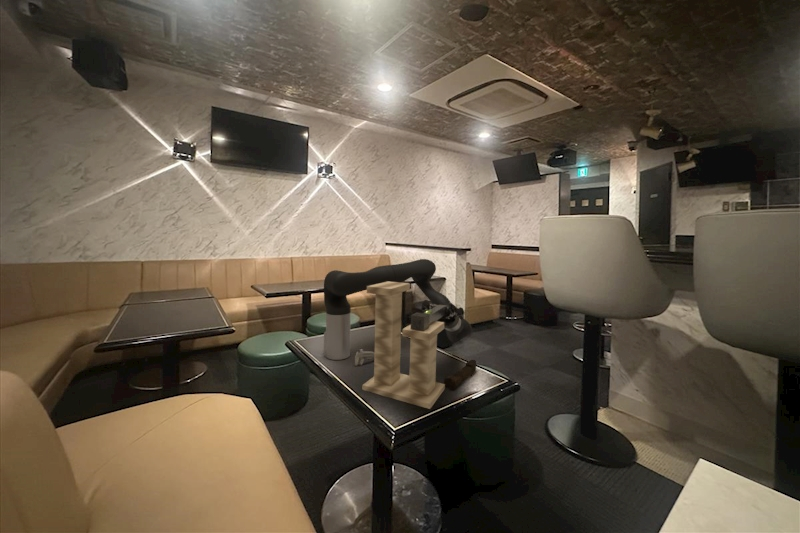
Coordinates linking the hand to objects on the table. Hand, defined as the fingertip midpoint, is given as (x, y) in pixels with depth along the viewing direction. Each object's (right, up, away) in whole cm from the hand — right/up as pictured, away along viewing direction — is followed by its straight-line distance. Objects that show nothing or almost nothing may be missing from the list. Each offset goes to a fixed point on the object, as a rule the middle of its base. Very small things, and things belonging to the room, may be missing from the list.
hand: (437, 304), depth 99 cm
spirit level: (-2, -5, -4) cm, 7 cm away
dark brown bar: (+9, -26, +4) cm, 28 cm away
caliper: (-20, -24, +17) cm, 36 cm away
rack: (-11, -26, -5) cm, 28 cm away
